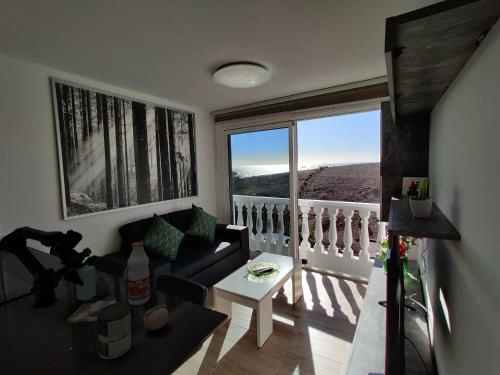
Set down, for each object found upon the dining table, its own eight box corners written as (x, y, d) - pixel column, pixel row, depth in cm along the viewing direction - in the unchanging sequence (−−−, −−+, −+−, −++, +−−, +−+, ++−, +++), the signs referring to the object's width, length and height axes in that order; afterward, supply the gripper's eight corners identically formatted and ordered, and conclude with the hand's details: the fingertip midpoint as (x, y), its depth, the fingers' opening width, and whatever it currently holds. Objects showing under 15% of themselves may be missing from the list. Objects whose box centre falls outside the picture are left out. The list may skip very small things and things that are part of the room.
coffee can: (92, 360, 83) (90, 319, 82) (107, 338, 93) (106, 302, 92) (124, 358, 84) (123, 318, 83) (136, 337, 94) (135, 301, 93)
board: (67, 322, 102) (66, 313, 102) (83, 306, 114) (83, 298, 114) (107, 320, 104) (107, 311, 104) (119, 304, 116) (118, 296, 116)
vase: (102, 299, 121) (101, 281, 120) (90, 297, 122) (89, 280, 121) (112, 292, 127) (112, 275, 127) (101, 290, 129) (100, 274, 128)
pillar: (76, 298, 108) (75, 267, 107) (86, 293, 113) (85, 263, 112) (86, 300, 107) (84, 269, 106) (95, 294, 112) (94, 264, 111)
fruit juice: (150, 294, 126) (149, 239, 124) (149, 303, 117) (148, 245, 115) (129, 297, 123) (127, 241, 120) (127, 307, 114) (125, 247, 112)
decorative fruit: (153, 340, 93) (153, 314, 92) (140, 332, 97) (139, 307, 96) (173, 326, 101) (173, 303, 100) (160, 320, 105) (159, 297, 104)
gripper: (55, 250, 100) (79, 280, 98) (94, 238, 118) (115, 263, 116) (41, 267, 102) (64, 297, 101) (82, 252, 121) (101, 277, 119)
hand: (88, 282), depth 109 cm, fingers closed on pillar, 5 cm apart
